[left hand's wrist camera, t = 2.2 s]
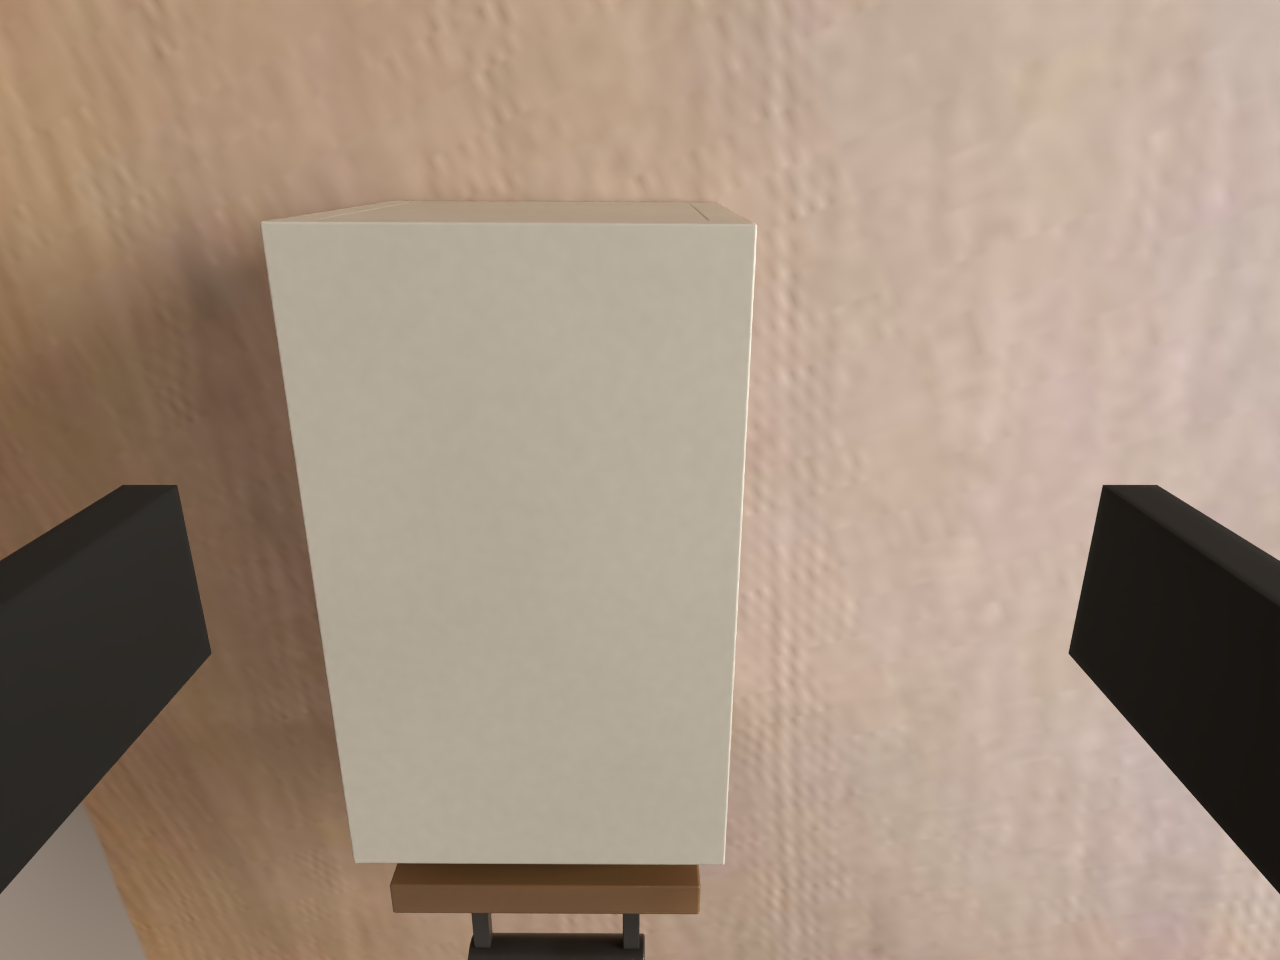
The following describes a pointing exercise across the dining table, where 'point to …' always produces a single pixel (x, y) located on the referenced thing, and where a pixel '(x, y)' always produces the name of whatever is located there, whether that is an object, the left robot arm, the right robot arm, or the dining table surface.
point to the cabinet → (523, 518)
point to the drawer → (548, 903)
